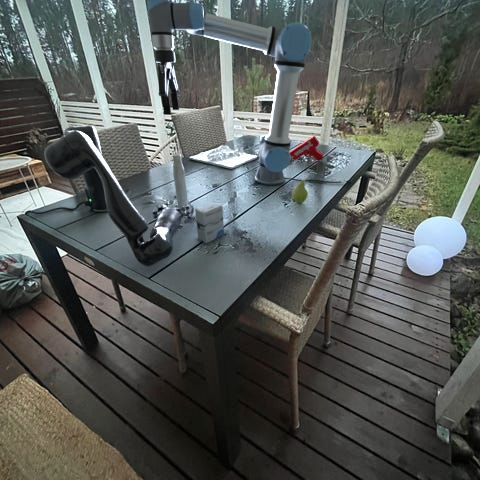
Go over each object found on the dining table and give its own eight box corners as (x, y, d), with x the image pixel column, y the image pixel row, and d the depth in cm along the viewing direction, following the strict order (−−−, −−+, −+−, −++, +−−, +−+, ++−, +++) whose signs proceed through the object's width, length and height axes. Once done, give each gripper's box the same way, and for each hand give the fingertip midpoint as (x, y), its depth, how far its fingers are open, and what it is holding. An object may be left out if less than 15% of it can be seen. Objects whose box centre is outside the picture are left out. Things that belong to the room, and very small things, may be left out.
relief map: (231, 168, 161) (231, 160, 158) (189, 159, 179) (189, 151, 176) (257, 158, 179) (257, 150, 176) (217, 150, 197) (216, 142, 194)
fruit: (288, 200, 123) (290, 174, 116) (302, 197, 125) (305, 172, 119) (296, 206, 118) (299, 179, 111) (310, 203, 120) (314, 177, 114)
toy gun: (327, 155, 171) (314, 135, 167) (326, 157, 167) (314, 136, 164) (302, 170, 181) (290, 151, 177) (301, 172, 177) (288, 153, 174)
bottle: (183, 205, 120) (176, 152, 108) (190, 207, 118) (184, 154, 106) (176, 208, 117) (168, 155, 104) (183, 211, 115) (176, 156, 102)
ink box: (215, 229, 101) (213, 200, 95) (224, 234, 98) (223, 205, 92) (197, 238, 96) (194, 208, 90) (206, 243, 93) (203, 213, 87)
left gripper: (187, 213, 91) (194, 194, 104) (144, 213, 91) (157, 194, 104) (189, 232, 95) (196, 211, 108) (149, 232, 95) (161, 211, 108)
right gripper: (163, 51, 112) (170, 108, 124) (142, 48, 91) (153, 116, 103) (181, 51, 112) (187, 108, 123) (164, 48, 91) (173, 116, 102)
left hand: (177, 203), depth 106 cm, fingers open, 8 cm apart
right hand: (172, 112), depth 113 cm, fingers open, 13 cm apart
